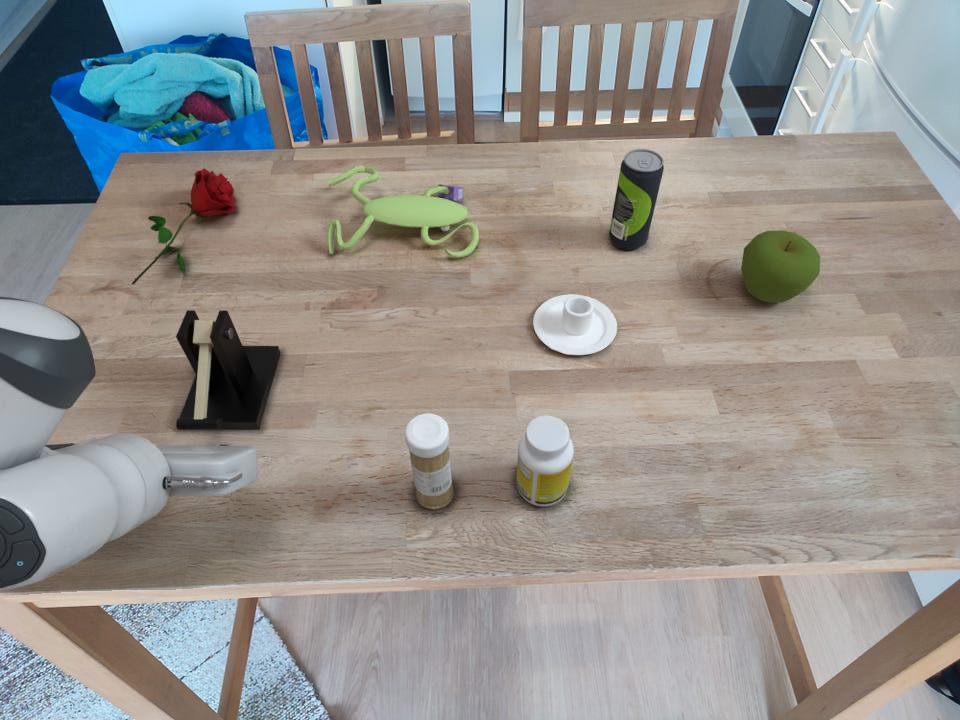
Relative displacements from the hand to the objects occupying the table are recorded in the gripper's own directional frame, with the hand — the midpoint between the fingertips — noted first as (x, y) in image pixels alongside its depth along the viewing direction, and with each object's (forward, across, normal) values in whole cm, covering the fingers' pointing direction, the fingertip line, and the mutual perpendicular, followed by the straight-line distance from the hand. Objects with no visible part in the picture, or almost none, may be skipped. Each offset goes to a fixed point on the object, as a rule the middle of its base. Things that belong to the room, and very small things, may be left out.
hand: (187, 451), depth 74 cm
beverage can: (+38, -56, -27) cm, 73 cm away
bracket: (+15, +1, -5) cm, 16 cm away
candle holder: (+24, -46, -13) cm, 53 cm away
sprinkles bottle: (+4, -28, +6) cm, 28 cm away
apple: (+29, -76, -19) cm, 83 cm away
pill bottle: (+5, -40, +5) cm, 41 cm away
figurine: (+40, -18, -30) cm, 53 cm away
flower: (+36, +15, -26) cm, 47 cm away
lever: (+7, 0, -8) cm, 10 cm away
